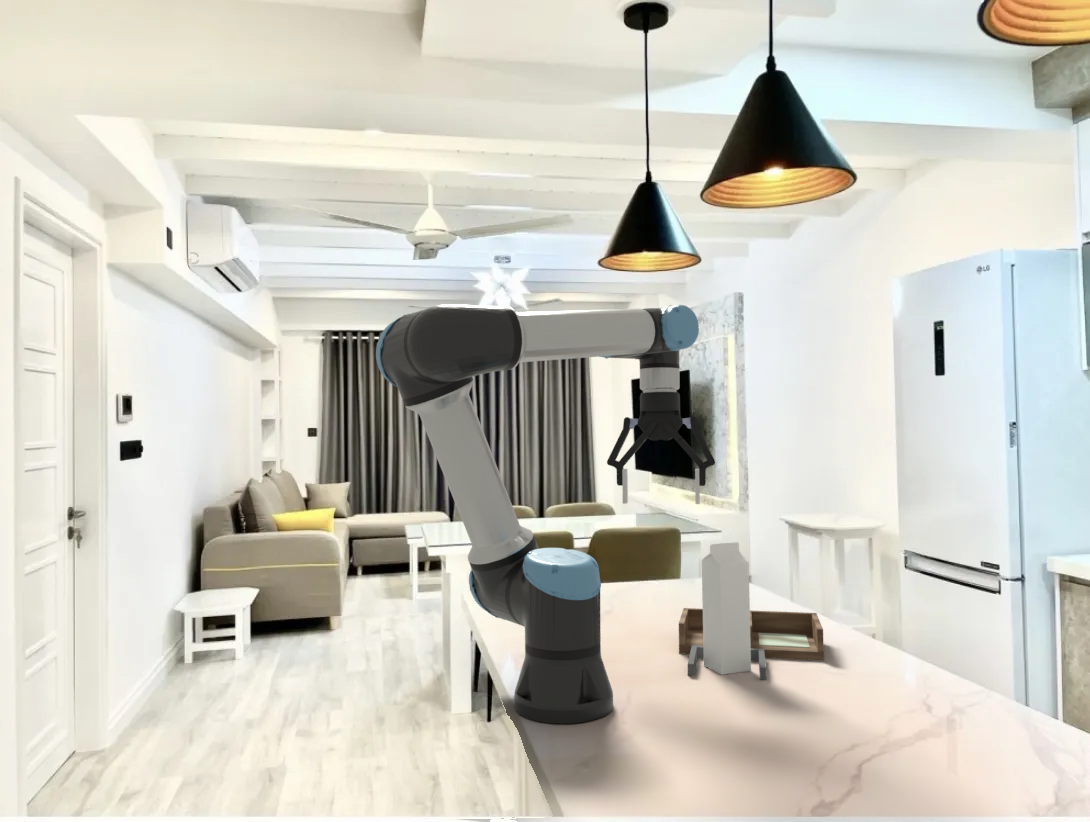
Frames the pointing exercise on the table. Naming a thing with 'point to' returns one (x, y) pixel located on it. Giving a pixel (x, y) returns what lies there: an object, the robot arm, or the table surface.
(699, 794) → the table surface
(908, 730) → the table surface
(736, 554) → the milk
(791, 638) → the box
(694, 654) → the bracket
